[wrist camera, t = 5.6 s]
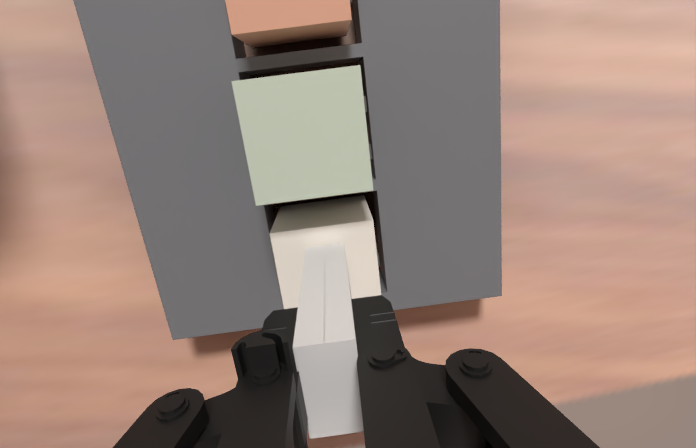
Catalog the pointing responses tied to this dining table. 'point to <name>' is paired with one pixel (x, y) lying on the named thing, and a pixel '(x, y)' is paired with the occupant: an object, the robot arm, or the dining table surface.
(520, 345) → the dining table surface
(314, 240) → the cream cube
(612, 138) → the dining table surface
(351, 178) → the tile two bar
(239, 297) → the tile board
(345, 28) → the orange cube
